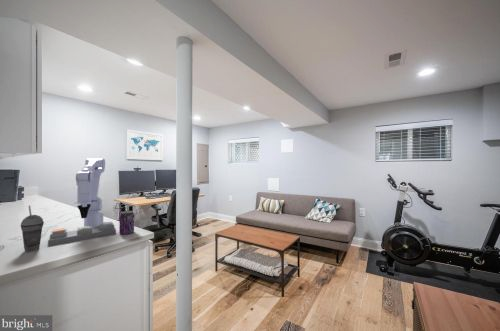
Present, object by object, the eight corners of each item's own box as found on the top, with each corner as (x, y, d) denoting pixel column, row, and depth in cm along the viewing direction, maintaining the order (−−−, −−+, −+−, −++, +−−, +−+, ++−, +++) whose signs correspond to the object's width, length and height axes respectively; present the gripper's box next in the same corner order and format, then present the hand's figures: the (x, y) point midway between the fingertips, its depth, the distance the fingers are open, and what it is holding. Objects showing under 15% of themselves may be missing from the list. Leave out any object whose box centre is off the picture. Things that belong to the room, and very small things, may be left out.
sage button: (89, 229, 112) (89, 226, 112) (89, 231, 109) (89, 227, 109) (79, 231, 109) (79, 227, 109) (79, 233, 106) (79, 229, 106)
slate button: (111, 224, 119) (111, 221, 119) (112, 226, 115) (112, 223, 115) (102, 226, 116) (102, 222, 116) (102, 227, 113) (103, 224, 113)
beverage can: (127, 235, 111) (127, 213, 111) (116, 234, 112) (116, 212, 112) (136, 231, 118) (137, 210, 118) (126, 230, 119) (126, 210, 119)
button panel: (113, 229, 122) (113, 221, 122) (115, 233, 114) (115, 225, 114) (50, 239, 105) (50, 230, 105) (48, 245, 96) (48, 236, 96)
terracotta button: (64, 231, 106) (64, 228, 106) (64, 233, 102) (64, 229, 102) (53, 233, 103) (53, 229, 103) (52, 235, 100) (52, 231, 100)
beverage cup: (36, 252, 89) (37, 206, 89) (15, 254, 87) (15, 207, 87) (47, 245, 96) (48, 203, 96) (28, 247, 94) (28, 204, 94)
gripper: (74, 192, 115) (74, 216, 115) (74, 195, 104) (74, 222, 104) (90, 191, 120) (90, 214, 120) (92, 194, 109) (91, 219, 109)
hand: (84, 217), depth 112 cm, fingers closed
